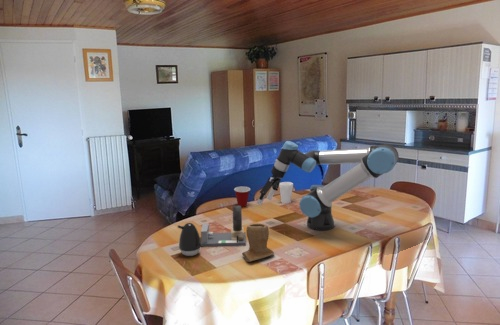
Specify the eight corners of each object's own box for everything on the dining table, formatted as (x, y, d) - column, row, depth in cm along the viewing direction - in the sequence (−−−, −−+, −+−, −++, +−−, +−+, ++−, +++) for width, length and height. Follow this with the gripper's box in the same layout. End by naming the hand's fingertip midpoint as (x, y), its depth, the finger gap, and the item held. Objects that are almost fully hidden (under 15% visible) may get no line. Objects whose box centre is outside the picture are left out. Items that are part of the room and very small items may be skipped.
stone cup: (262, 248, 182) (262, 218, 179) (277, 256, 172) (277, 225, 169) (235, 256, 173) (234, 225, 171) (249, 265, 164) (249, 232, 161)
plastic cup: (238, 209, 243) (238, 191, 241) (231, 205, 252) (231, 187, 250) (253, 206, 248) (253, 189, 245) (246, 202, 257) (245, 185, 255)
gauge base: (245, 234, 199) (245, 221, 197) (245, 245, 185) (245, 231, 184) (203, 236, 198) (203, 222, 197) (201, 246, 184) (200, 232, 183)
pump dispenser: (180, 250, 181) (178, 220, 178) (201, 248, 182) (200, 219, 179) (177, 259, 171) (176, 227, 168) (200, 257, 172) (199, 226, 169)
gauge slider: (243, 233, 195) (242, 204, 192) (243, 242, 184) (243, 211, 181) (232, 234, 195) (231, 204, 192) (231, 243, 183) (230, 211, 181)
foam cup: (292, 204, 251) (292, 185, 249) (278, 203, 253) (278, 185, 251) (293, 200, 260) (293, 182, 258) (280, 199, 262) (280, 181, 260)
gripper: (282, 162, 213) (267, 193, 219) (264, 167, 191) (248, 202, 197) (293, 169, 210) (277, 200, 217) (276, 175, 188) (259, 210, 195)
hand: (263, 201), depth 207 cm, fingers open, 13 cm apart
